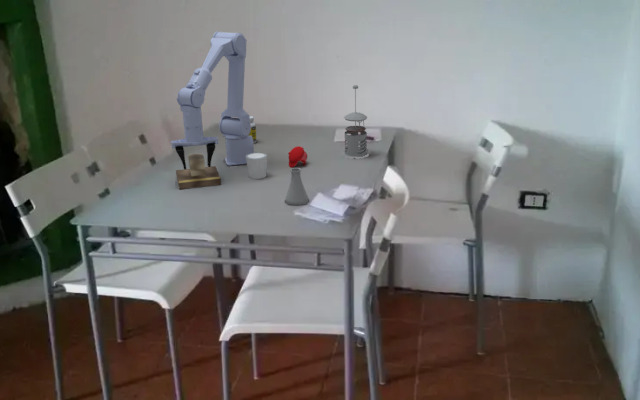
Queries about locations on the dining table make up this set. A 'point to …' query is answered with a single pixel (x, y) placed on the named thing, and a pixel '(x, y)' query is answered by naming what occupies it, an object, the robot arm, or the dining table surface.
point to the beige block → (196, 165)
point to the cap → (297, 156)
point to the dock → (198, 178)
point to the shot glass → (256, 165)
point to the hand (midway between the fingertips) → (197, 167)
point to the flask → (296, 189)
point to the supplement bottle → (252, 129)
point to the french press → (355, 134)
